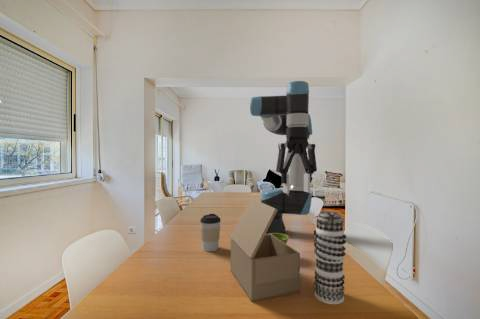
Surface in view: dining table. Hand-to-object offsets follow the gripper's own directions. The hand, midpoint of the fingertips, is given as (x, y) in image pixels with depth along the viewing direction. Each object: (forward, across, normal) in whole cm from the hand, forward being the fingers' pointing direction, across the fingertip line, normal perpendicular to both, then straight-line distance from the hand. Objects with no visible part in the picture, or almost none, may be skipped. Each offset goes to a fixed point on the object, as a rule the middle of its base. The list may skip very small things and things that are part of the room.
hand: (296, 192), depth 88 cm
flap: (+10, +17, 0) cm, 19 cm away
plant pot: (+29, -1, -16) cm, 33 cm away
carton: (+29, +13, 0) cm, 32 cm away
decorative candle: (+29, -2, +15) cm, 33 cm away
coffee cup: (+29, +23, -34) cm, 50 cm away
